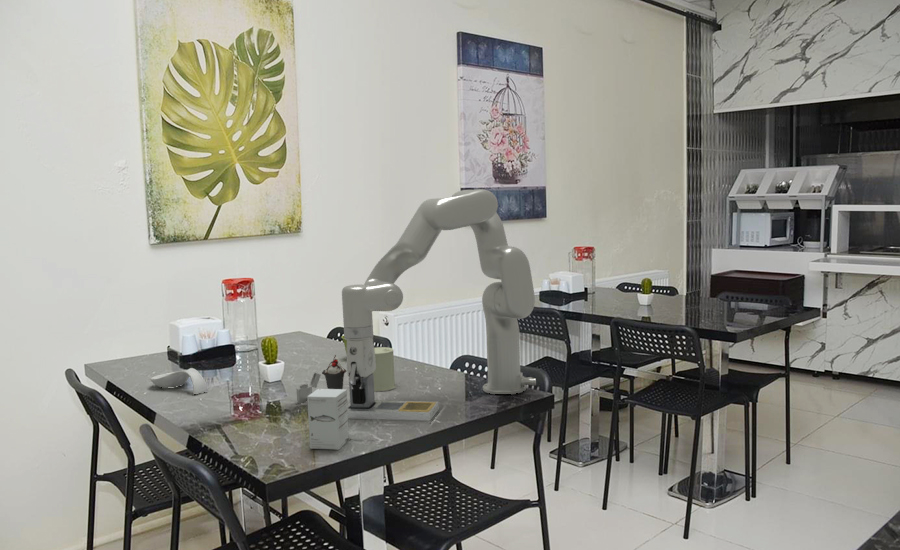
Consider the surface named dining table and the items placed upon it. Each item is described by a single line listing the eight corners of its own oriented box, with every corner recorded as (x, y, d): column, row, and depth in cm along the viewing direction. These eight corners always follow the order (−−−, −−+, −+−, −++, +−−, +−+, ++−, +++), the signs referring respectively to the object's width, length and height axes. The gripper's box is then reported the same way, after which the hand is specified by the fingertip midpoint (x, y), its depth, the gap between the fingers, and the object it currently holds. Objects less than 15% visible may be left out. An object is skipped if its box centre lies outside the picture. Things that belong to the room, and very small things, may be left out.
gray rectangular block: (375, 409, 193) (373, 372, 192) (369, 415, 189) (367, 376, 188) (357, 409, 195) (355, 371, 193) (351, 415, 190) (348, 376, 189)
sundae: (337, 411, 197) (334, 357, 196) (319, 408, 201) (316, 355, 199) (353, 405, 203) (350, 352, 201) (335, 402, 206) (332, 350, 205)
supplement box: (308, 449, 168) (305, 396, 166) (321, 439, 175) (317, 387, 173) (339, 450, 166) (336, 396, 165) (350, 440, 173) (347, 388, 172)
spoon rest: (144, 388, 232) (142, 366, 231) (178, 380, 241) (176, 359, 240) (184, 399, 217) (182, 375, 216) (219, 390, 226) (217, 367, 225)
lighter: (299, 404, 206) (298, 376, 205) (297, 402, 207) (295, 375, 206) (322, 399, 210) (320, 372, 209) (319, 398, 211) (318, 371, 211)
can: (390, 391, 215) (388, 352, 214) (360, 391, 217) (358, 351, 216) (399, 383, 224) (397, 345, 223) (370, 383, 226) (368, 345, 225)
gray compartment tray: (439, 412, 192) (438, 401, 192) (430, 424, 183) (429, 412, 182) (353, 410, 197) (352, 399, 197) (339, 421, 188) (339, 410, 187)
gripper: (361, 338, 180) (365, 410, 182) (382, 326, 197) (385, 392, 199) (333, 338, 182) (337, 409, 184) (356, 326, 198) (359, 391, 200)
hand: (362, 399), depth 191 cm, fingers closed on gray rectangular block, 5 cm apart
